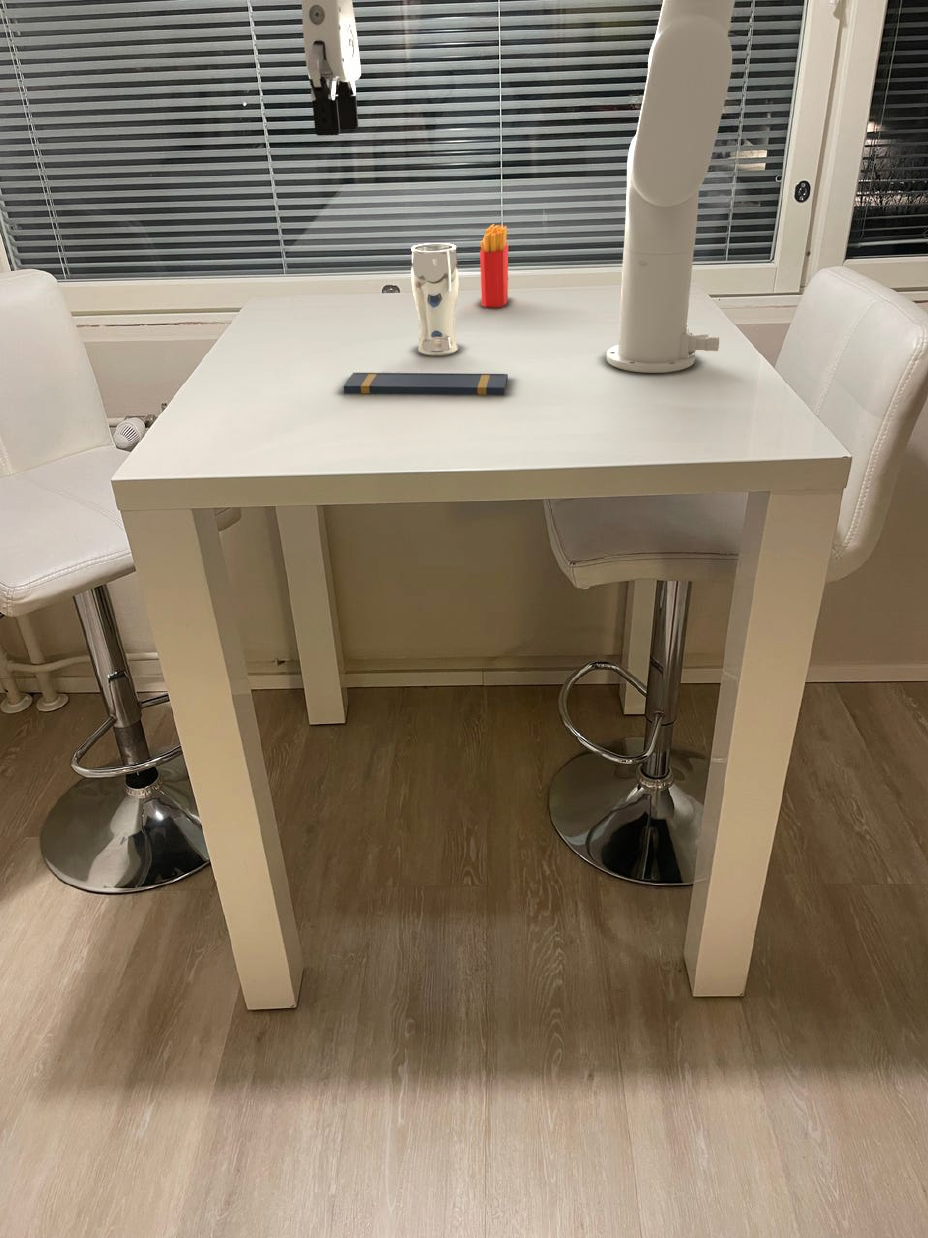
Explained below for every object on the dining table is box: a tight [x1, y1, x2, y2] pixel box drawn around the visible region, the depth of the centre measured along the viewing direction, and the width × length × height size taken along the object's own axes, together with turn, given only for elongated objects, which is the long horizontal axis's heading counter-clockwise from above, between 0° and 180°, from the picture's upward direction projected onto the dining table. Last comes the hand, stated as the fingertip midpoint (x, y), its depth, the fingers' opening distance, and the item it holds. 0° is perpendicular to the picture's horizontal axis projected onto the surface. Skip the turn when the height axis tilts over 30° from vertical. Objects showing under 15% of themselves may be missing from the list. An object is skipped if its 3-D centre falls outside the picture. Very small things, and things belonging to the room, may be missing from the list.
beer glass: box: [410, 242, 459, 357], centre depth 142 cm, size 7×7×15 cm
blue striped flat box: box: [343, 372, 509, 396], centre depth 130 cm, size 22×6×1 cm, turn 83°
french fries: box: [479, 223, 509, 308], centre depth 167 cm, size 9×4×13 cm, turn 168°
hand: (337, 131), depth 127 cm, fingers open, 9 cm apart
